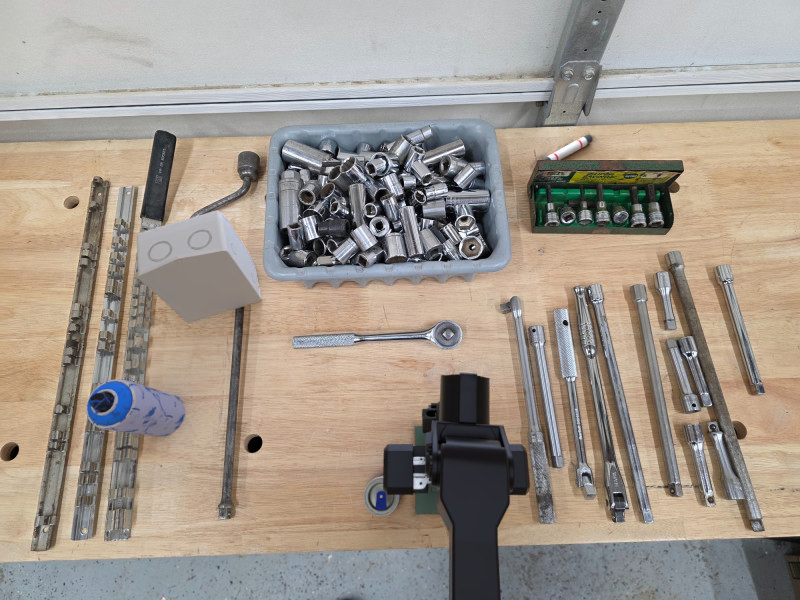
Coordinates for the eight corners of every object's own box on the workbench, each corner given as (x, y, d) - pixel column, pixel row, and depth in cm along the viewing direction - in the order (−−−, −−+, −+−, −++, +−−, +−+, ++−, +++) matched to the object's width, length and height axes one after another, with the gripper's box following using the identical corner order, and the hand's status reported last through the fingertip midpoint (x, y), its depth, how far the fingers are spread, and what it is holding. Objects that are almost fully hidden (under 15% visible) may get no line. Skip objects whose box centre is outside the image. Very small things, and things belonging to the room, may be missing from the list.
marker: (584, 138, 102) (588, 132, 100) (590, 144, 101) (593, 138, 99) (530, 168, 99) (532, 163, 97) (535, 175, 99) (538, 169, 97)
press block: (475, 513, 76) (478, 515, 72) (415, 513, 76) (416, 515, 72) (470, 426, 81) (473, 424, 77) (414, 426, 81) (415, 424, 77)
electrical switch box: (253, 246, 97) (213, 180, 79) (265, 304, 90) (223, 245, 72) (185, 266, 95) (129, 203, 78) (191, 326, 88) (131, 272, 71)
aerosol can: (193, 394, 84) (130, 373, 65) (185, 438, 81) (118, 429, 62) (151, 393, 84) (76, 372, 65) (142, 438, 81) (62, 429, 62)
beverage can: (401, 507, 76) (399, 516, 62) (371, 507, 76) (362, 516, 62) (401, 475, 78) (399, 477, 64) (372, 475, 78) (363, 476, 64)
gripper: (534, 398, 55) (508, 413, 70) (381, 399, 55) (387, 413, 70) (544, 498, 51) (514, 491, 66) (379, 497, 51) (386, 491, 66)
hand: (449, 468), depth 67 cm, fingers open, 6 cm apart
